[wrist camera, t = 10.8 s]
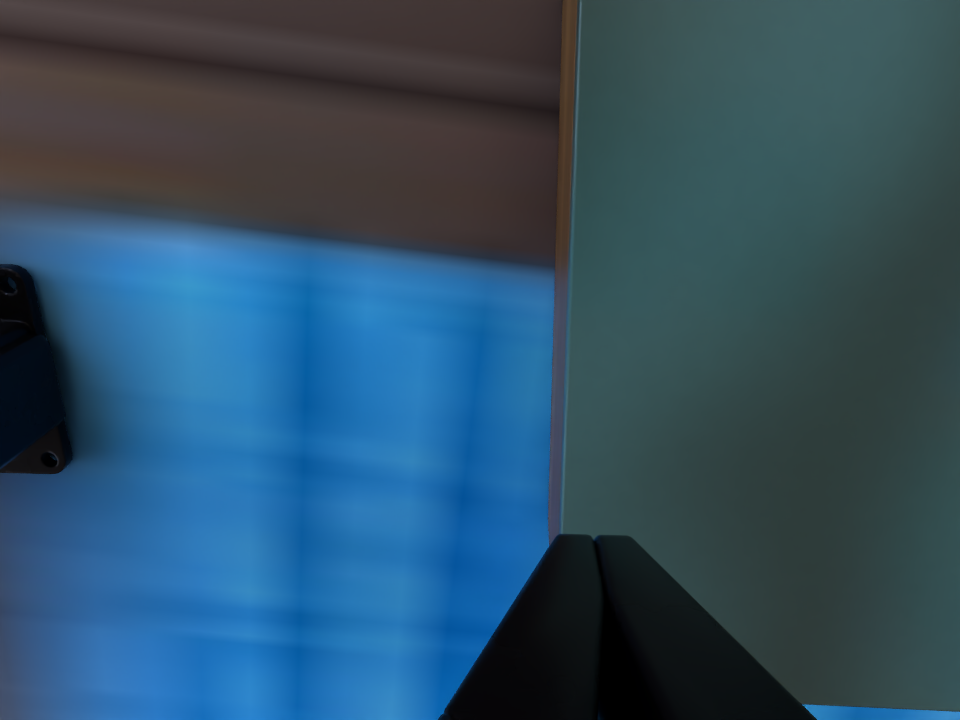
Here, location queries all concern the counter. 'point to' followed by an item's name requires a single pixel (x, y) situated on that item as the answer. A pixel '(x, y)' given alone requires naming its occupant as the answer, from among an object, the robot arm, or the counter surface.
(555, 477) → the toy box
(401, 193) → the counter surface
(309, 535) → the counter surface
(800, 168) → the lid
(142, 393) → the counter surface
